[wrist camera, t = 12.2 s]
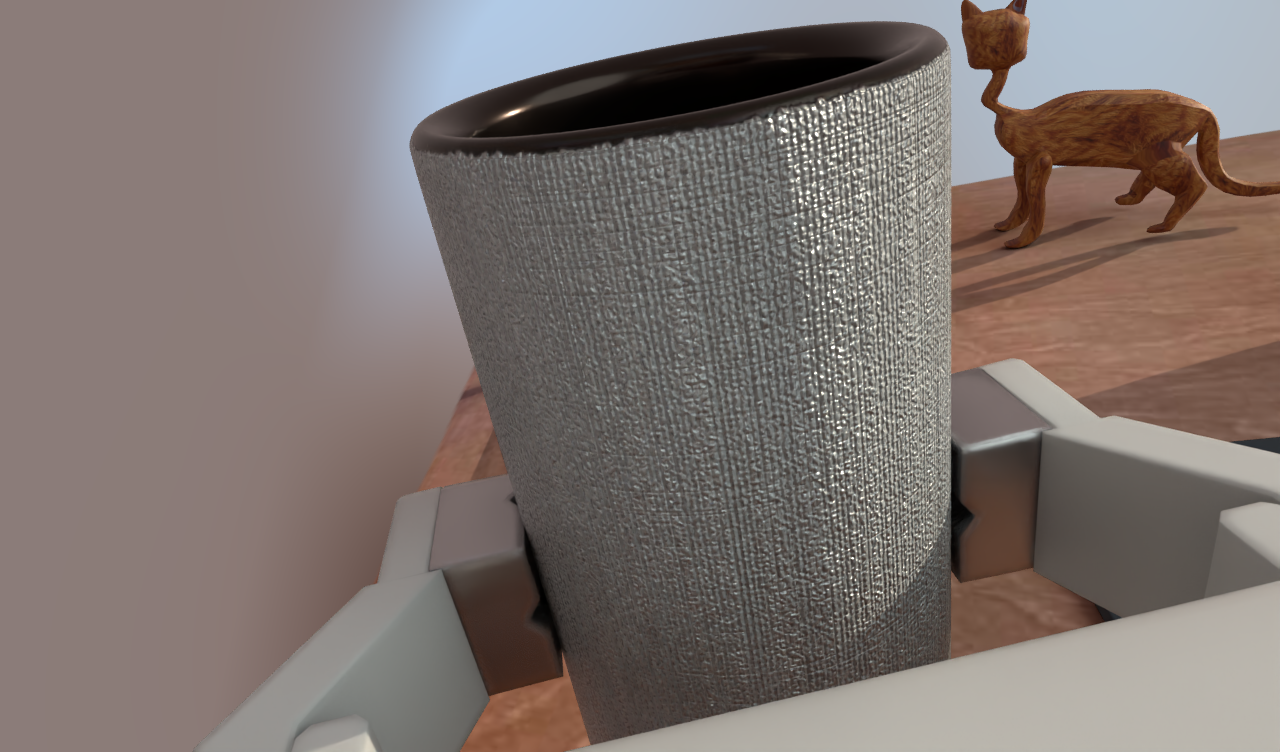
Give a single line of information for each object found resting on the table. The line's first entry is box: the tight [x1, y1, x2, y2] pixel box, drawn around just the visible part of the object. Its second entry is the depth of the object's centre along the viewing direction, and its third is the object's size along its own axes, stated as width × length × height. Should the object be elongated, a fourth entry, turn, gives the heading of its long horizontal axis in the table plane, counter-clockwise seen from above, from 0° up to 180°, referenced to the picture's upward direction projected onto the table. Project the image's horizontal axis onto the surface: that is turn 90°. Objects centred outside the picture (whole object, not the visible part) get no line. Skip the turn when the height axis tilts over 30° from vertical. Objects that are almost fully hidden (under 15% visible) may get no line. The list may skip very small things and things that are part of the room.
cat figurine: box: [961, 0, 1280, 248], centre depth 44 cm, size 18×7×14 cm, turn 79°
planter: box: [410, 21, 951, 745], centre depth 9 cm, size 4×4×10 cm
